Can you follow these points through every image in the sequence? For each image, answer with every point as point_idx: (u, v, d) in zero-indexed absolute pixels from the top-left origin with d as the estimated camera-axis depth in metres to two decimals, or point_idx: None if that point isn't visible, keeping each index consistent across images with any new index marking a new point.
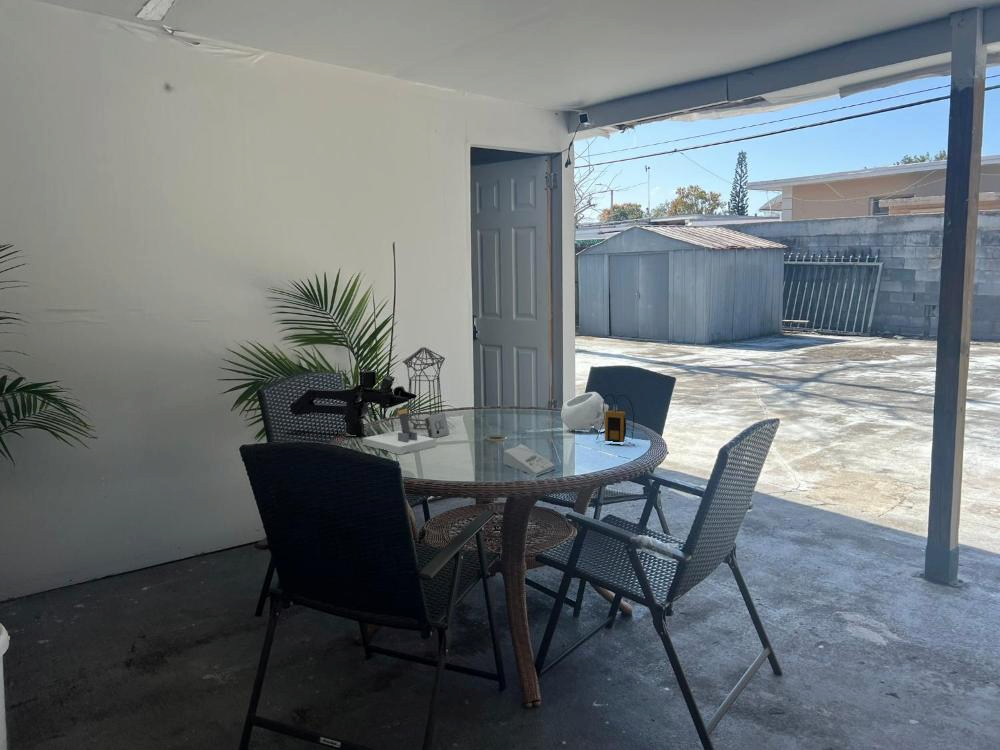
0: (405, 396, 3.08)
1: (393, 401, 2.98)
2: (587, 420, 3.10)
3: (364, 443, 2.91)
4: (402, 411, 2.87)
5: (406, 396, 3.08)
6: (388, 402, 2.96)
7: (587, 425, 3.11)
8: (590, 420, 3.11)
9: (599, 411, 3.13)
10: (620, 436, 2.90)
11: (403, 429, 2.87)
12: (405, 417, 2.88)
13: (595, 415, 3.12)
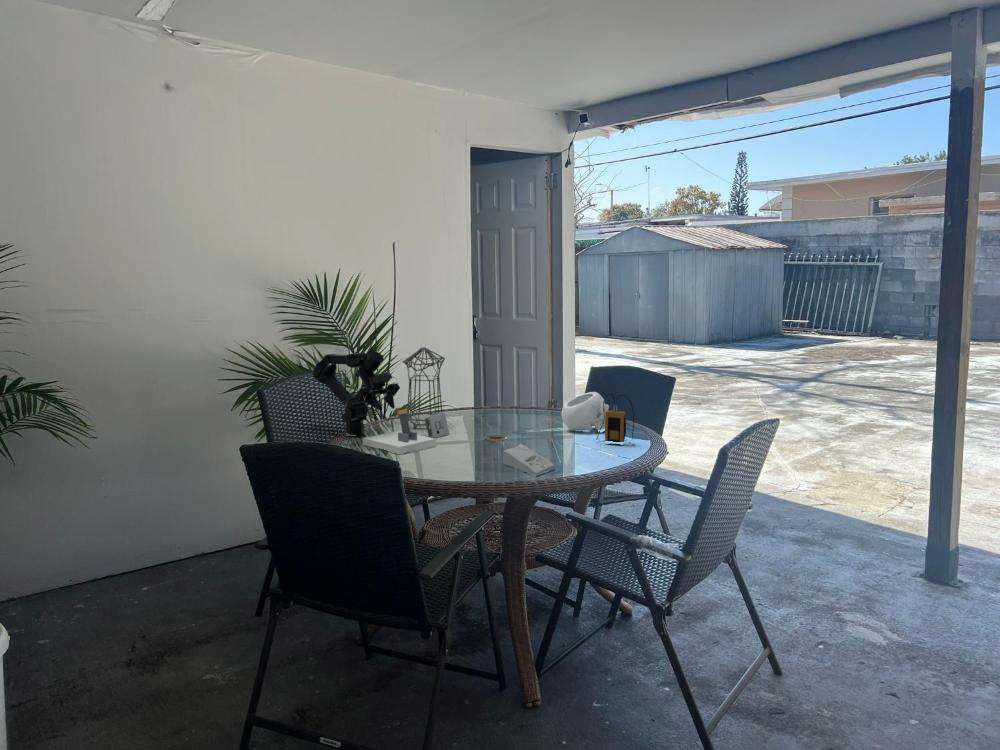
0: (388, 399, 2.98)
1: (371, 400, 2.93)
2: (587, 420, 3.10)
3: (364, 443, 2.91)
4: (402, 411, 2.87)
5: (388, 400, 2.98)
6: (365, 398, 2.92)
7: (587, 425, 3.11)
8: (590, 420, 3.11)
9: (599, 411, 3.13)
10: (620, 436, 2.90)
11: (403, 429, 2.87)
12: (405, 417, 2.88)
13: (595, 415, 3.12)
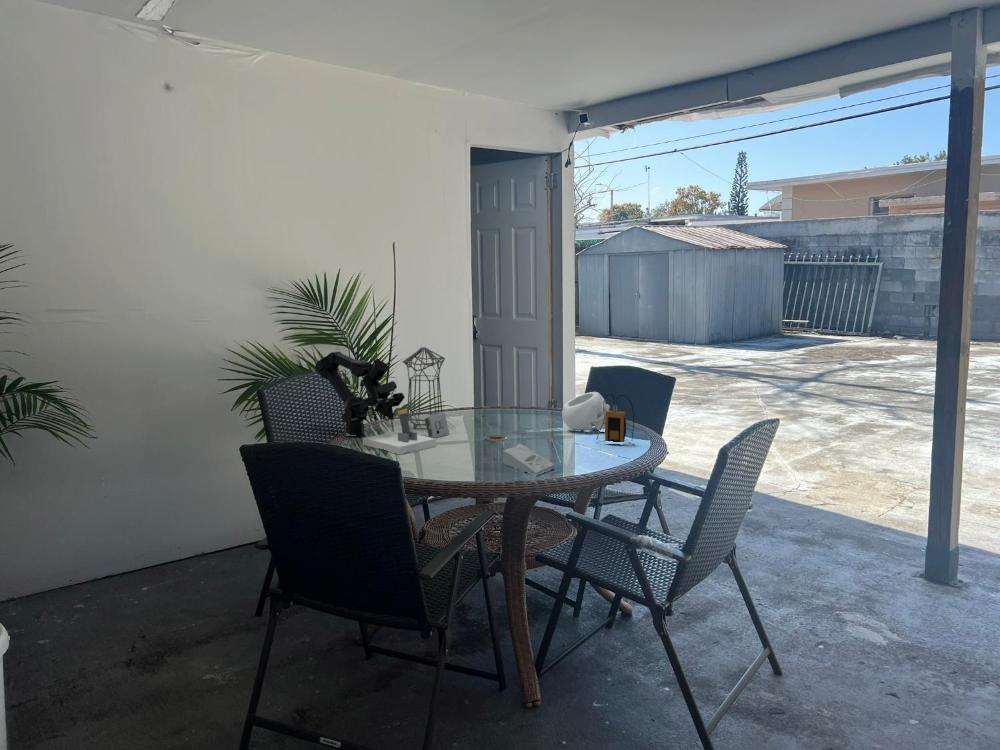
0: None
1: (382, 409, 2.94)
2: (588, 420, 3.10)
3: (364, 443, 2.91)
4: (402, 411, 2.87)
5: None
6: (376, 407, 2.93)
7: (588, 425, 3.11)
8: (591, 420, 3.11)
9: (600, 411, 3.13)
10: (620, 436, 2.90)
11: (403, 429, 2.87)
12: (405, 417, 2.88)
13: (596, 415, 3.12)
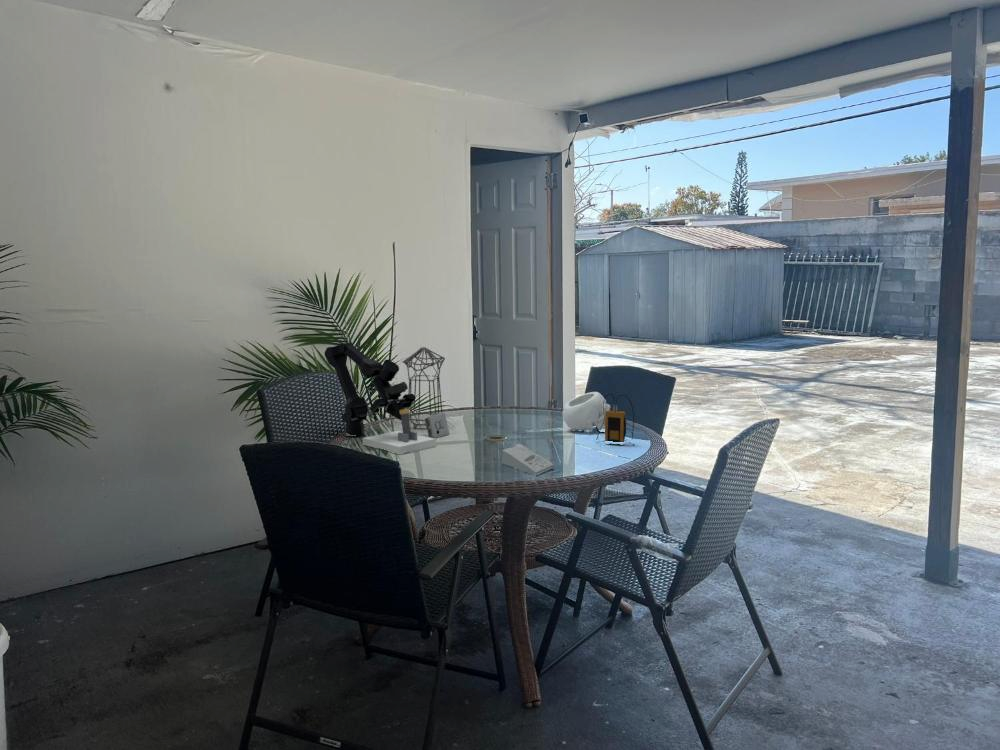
0: None
1: (393, 410, 2.90)
2: (589, 420, 3.11)
3: (364, 443, 2.91)
4: (404, 411, 2.86)
5: None
6: (386, 408, 2.88)
7: (589, 425, 3.11)
8: (592, 420, 3.11)
9: (601, 411, 3.13)
10: (620, 436, 2.90)
11: (404, 429, 2.86)
12: (407, 417, 2.87)
13: (597, 415, 3.12)
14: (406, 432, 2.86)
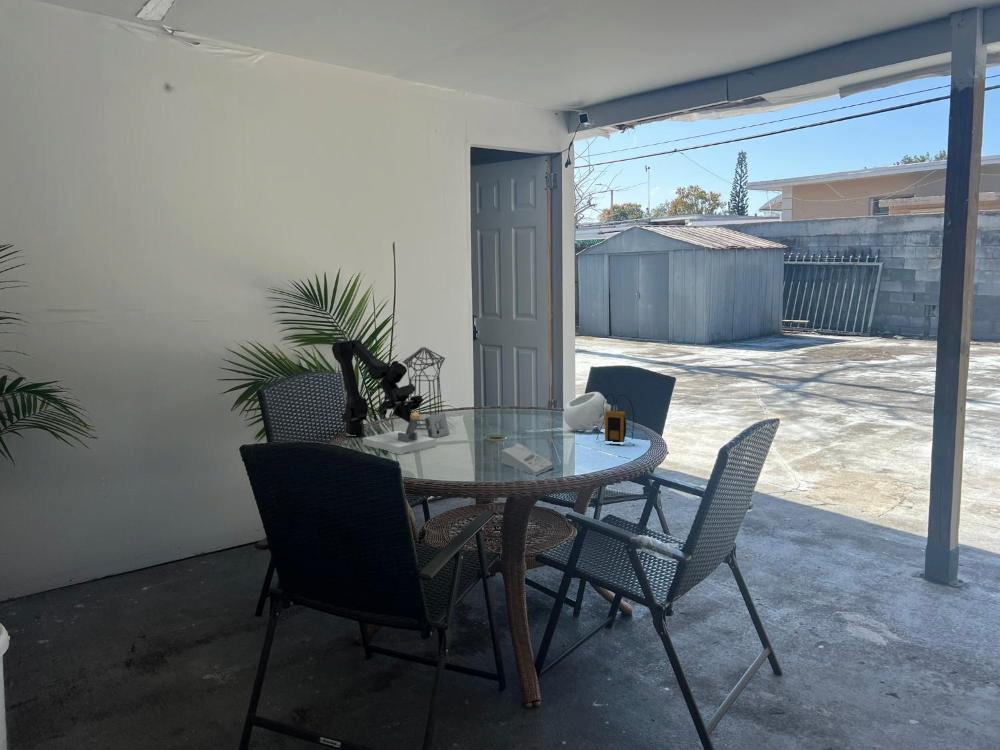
0: None
1: (400, 412, 2.87)
2: (589, 420, 3.11)
3: (364, 443, 2.91)
4: (415, 417, 2.82)
5: None
6: (394, 410, 2.86)
7: (589, 425, 3.11)
8: (592, 420, 3.11)
9: (601, 411, 3.13)
10: (620, 436, 2.90)
11: (408, 431, 2.85)
12: (415, 421, 2.84)
13: (597, 415, 3.12)
14: (409, 434, 2.86)
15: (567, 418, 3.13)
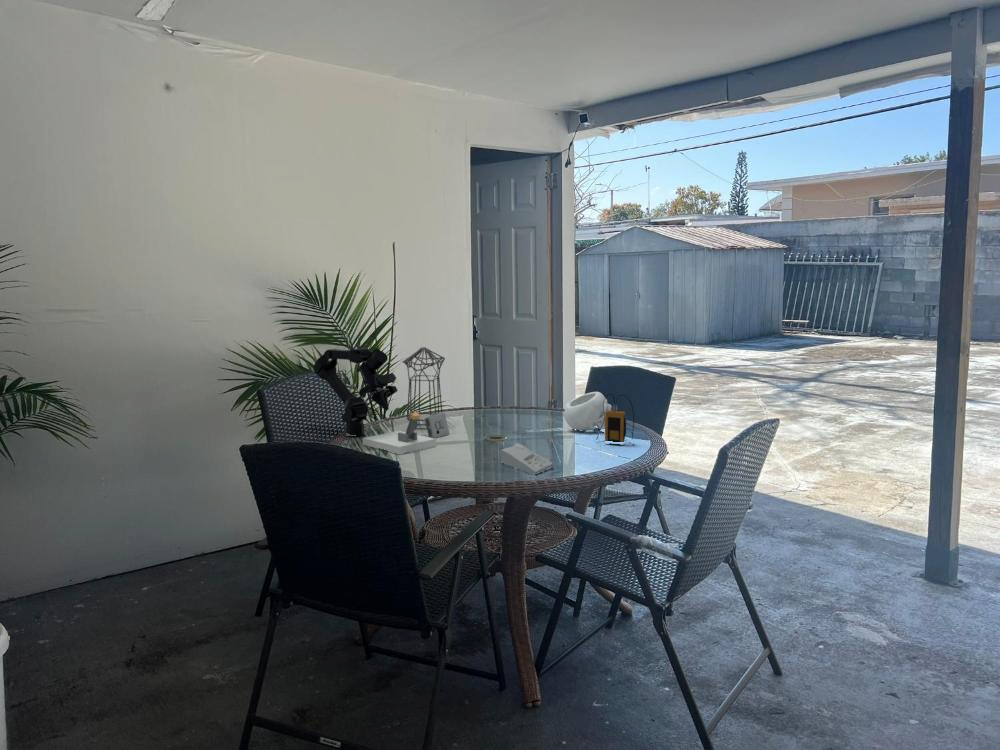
0: None
1: (378, 398, 2.96)
2: (590, 420, 3.11)
3: (364, 443, 2.91)
4: (415, 417, 2.82)
5: None
6: (373, 395, 2.94)
7: (590, 425, 3.11)
8: (593, 420, 3.11)
9: (602, 411, 3.13)
10: (620, 436, 2.90)
11: (408, 431, 2.85)
12: (415, 421, 2.84)
13: (598, 415, 3.12)
14: (409, 434, 2.86)
15: (568, 418, 3.13)
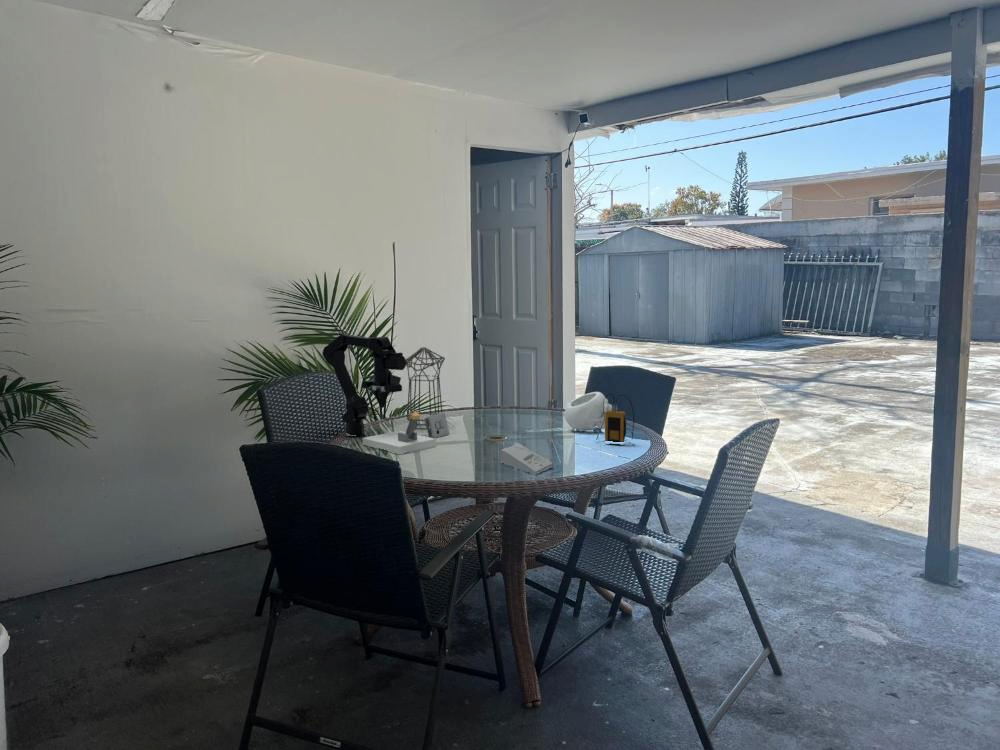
0: None
1: (382, 394, 2.99)
2: (591, 420, 3.11)
3: (364, 443, 2.91)
4: (415, 417, 2.82)
5: None
6: None
7: (591, 425, 3.11)
8: (594, 420, 3.11)
9: None
10: (620, 436, 2.90)
11: (408, 431, 2.85)
12: (415, 421, 2.84)
13: (599, 415, 3.12)
14: (409, 434, 2.86)
15: (568, 418, 3.13)
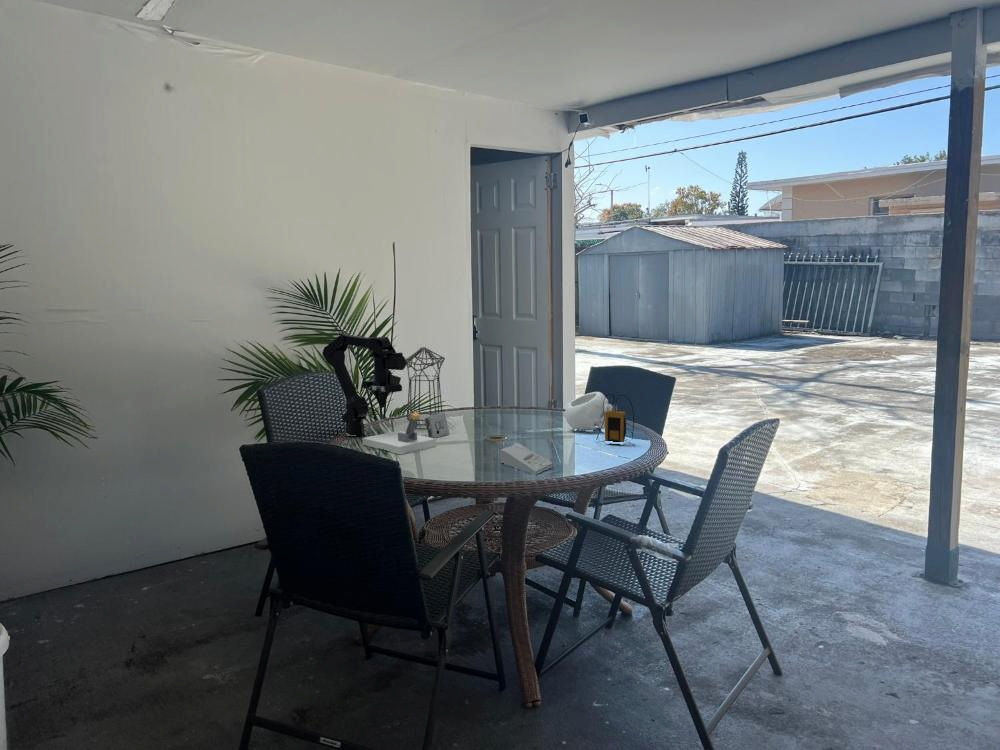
0: None
1: (382, 394, 2.99)
2: (591, 420, 3.11)
3: (364, 443, 2.91)
4: (415, 417, 2.82)
5: None
6: None
7: (591, 425, 3.11)
8: (594, 420, 3.11)
9: None
10: (620, 436, 2.90)
11: (408, 431, 2.85)
12: (415, 421, 2.84)
13: (599, 415, 3.12)
14: (409, 434, 2.86)
15: (569, 418, 3.13)
